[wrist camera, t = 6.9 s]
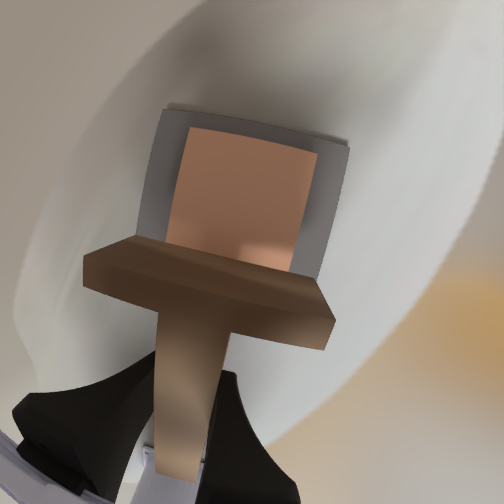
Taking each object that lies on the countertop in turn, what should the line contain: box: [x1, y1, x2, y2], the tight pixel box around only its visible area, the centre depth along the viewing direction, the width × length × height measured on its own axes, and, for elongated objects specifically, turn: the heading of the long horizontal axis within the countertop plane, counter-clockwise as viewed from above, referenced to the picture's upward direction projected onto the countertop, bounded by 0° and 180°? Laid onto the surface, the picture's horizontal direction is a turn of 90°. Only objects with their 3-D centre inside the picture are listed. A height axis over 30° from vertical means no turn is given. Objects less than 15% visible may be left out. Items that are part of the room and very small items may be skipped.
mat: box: [136, 109, 350, 281], centre depth 16 cm, size 12×12×1 cm
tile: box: [166, 127, 318, 272], centre depth 15 cm, size 1×7×8 cm
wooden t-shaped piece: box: [83, 235, 336, 484], centre depth 12 cm, size 13×9×4 cm
